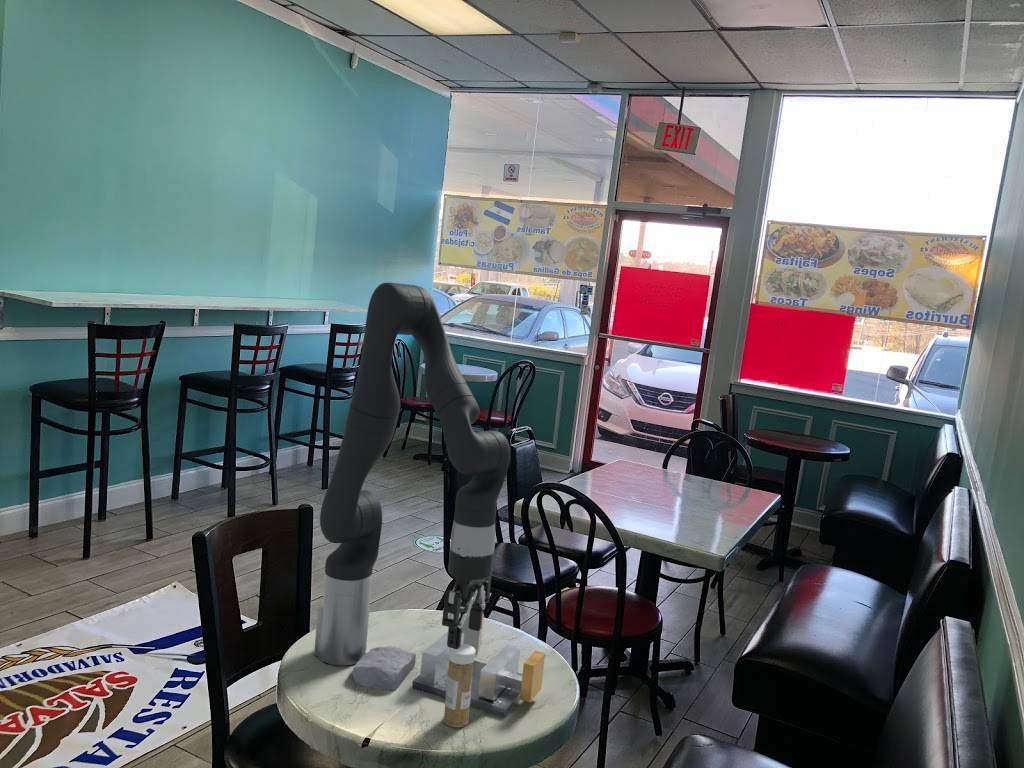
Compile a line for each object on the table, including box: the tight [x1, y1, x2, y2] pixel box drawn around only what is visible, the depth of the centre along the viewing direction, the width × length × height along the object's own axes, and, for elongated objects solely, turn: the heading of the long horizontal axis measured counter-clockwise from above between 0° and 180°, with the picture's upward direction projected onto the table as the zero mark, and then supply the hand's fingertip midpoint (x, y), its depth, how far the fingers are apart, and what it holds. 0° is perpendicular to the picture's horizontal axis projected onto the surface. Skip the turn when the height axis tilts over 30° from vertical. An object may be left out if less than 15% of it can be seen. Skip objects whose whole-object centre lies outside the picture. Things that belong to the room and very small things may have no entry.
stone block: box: [352, 645, 417, 691], centre depth 156 cm, size 12×5×10 cm
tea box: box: [462, 607, 485, 656], centre depth 171 cm, size 4×7×10 cm, turn 175°
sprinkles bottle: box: [442, 644, 476, 728], centre depth 141 cm, size 5×5×14 cm
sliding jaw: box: [478, 645, 546, 703], centre depth 151 cm, size 9×12×7 cm
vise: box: [411, 631, 523, 718], centre depth 154 cm, size 19×14×7 cm
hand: (464, 638), depth 140 cm, fingers open, 8 cm apart
